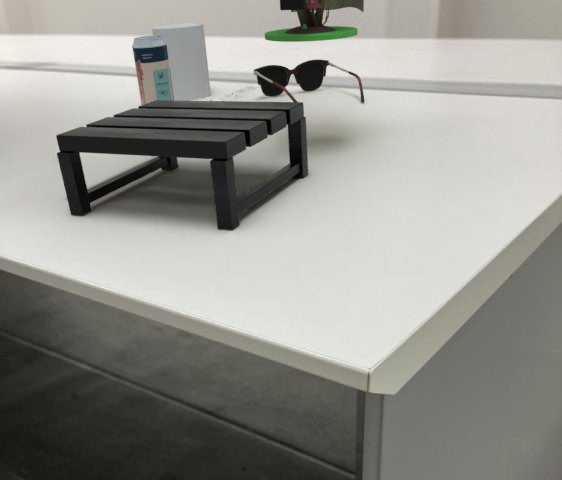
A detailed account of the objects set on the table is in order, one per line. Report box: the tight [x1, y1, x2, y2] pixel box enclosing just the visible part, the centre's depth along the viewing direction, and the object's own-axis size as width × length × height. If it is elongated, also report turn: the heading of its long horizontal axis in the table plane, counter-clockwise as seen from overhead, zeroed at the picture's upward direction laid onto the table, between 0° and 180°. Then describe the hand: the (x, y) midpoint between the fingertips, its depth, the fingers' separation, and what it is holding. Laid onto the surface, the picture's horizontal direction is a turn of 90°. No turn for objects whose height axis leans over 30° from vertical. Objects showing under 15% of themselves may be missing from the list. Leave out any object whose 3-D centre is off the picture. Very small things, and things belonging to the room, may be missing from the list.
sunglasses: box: [253, 59, 365, 104], centre depth 110 cm, size 14×16×5 cm
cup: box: [151, 22, 213, 101], centre depth 111 cm, size 8×8×12 cm
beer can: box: [131, 35, 174, 105], centre depth 97 cm, size 5×5×12 cm
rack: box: [55, 100, 309, 231], centre depth 69 cm, size 18×18×8 cm
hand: (315, 5), depth 76 cm, fingers closed on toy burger, 12 cm apart
